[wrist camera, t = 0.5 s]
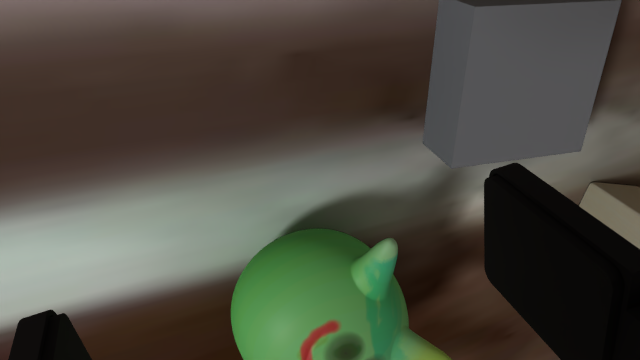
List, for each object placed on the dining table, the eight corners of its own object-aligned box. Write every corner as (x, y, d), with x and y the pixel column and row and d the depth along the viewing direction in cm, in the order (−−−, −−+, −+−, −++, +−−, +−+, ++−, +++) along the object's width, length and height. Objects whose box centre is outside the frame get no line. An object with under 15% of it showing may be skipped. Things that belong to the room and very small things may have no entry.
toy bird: (188, 256, 51) (206, 374, 39) (341, 165, 51) (407, 253, 39) (277, 360, 61) (313, 480, 48) (404, 283, 61) (473, 383, 49)
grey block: (438, -6, 47) (475, 6, 41) (572, -12, 50) (621, 0, 45) (421, 141, 53) (451, 168, 48) (541, 127, 57) (580, 151, 52)
